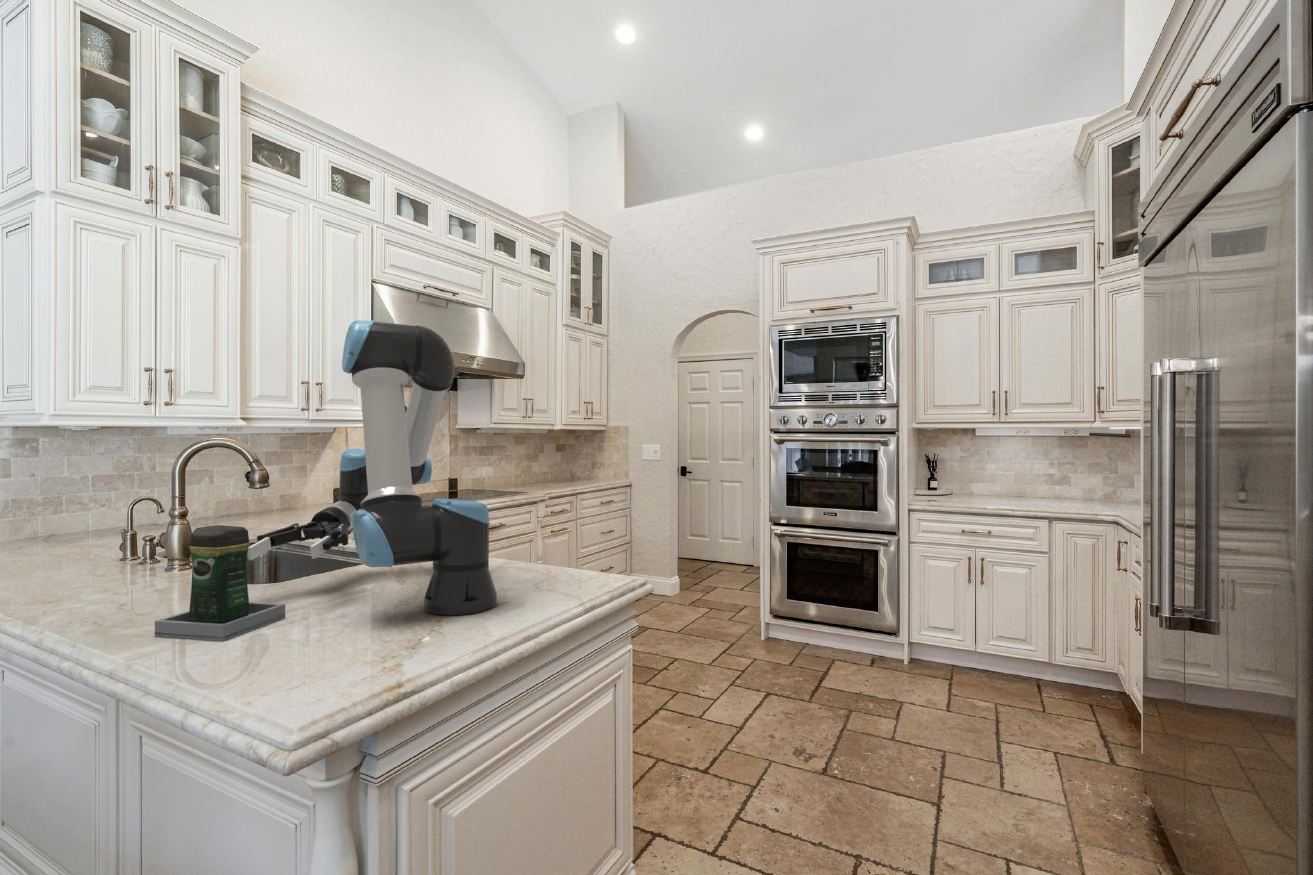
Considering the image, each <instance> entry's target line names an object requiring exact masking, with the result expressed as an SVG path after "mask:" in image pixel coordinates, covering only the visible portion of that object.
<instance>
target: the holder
mask: <svg viewBox="0 0 1313 875" xmlns="http://www.w3.org/2000/svg"><path fill="white" fill-rule="evenodd" d="M189 613H190V610H188V611H184V612H182V613H181V612H180V613H178V614H174V615H171V616H168V617H164V618H161V619H158V620H155V621H154V637H156V636H164V637H163V638H170V637H171V638H172V639H173V638H174V639H184V638H186V639H187V640H201V641H216V642H225V641H228V640H230V639H233V638H235V637H238V636H241V635H244V634H246V633H249V632H252V631H255V630H258V629H260V628H262V627H266V626H267V625H270V624H274V623H276V622H279V621H281V620H283V619H286V604H285V603H275V602H274V603H272V602H271V603H270V602H251V601H249V615H248V616H245V617H242V618H240V619H237V620H234V621H231V622H228V623H223V624H214V623H199V622H191V621H190V620H189ZM165 636H166V637H165Z"/></svg>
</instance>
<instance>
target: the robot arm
mask: <svg viewBox="0 0 1313 875" xmlns="http://www.w3.org/2000/svg"><path fill="white" fill-rule="evenodd" d="M342 350H343V351H342V360H341V361H342V362H341V368H342V371H343V372H344V373H347V374H351V382H352V383H353V385H355V386H356V387H358V388H359V389H360V399H361V400H360V401H361V414H362V425H363V426H362V428H363V429H362V430H363V440H364V441H363V442H364V443H363V444H364V448H349V449H348V448H347V449H346V450H344V451H343V452H342V453H341V454H340V455H341V457H340V465H339V489H338V500H337V501H336V502H333V503H332V504H330V505H329V506H327V507H325V508H324V509H322V510H320V511H318V512H316V513H315V514H314V515H313V516H312V519H311V521H309V522H308V523H306V524H301V525H299V523H292V524H291V525H288V526H286V527H282V528H280V529H277V530H273V531H270V532H266V533H263V534H260V535H258V536H256V541H257V542H256V543H254V544H252V545H249V548H248V552H247V560H248V561H253V560H255V559H257V558H258V557H260V556H263V555H264V554H265V553H267V552H270V551H271V550H272V548H274V547H277V546H282V545H286V544H288V543H292V542H296V541H299V542H304V541H309V540H316V539H320V540H318V541H317V542H315V543H314V544H312V545H310V546H309V548H310V549H309V550H310V556H311V559H312V560H313V559H317V558H318V557H320V556H321V555H323V554H324V553H326V552H327V551H329V550H331V549H332V548H334V547H338V546H339V545H340V544H341V545H342V546H347V545H348V544H349V535H350V534H351V533H352V534H353V535H352V536H353V540H354V544H355V548H356V549H355V550H356V552H357V554H358V556H359V559H360V561H361V562H362V563H363V564H364V565H365V566H366V567H368V568H382V567H383V568H385V567H386V568H392V567H394V566H401V565H413V564H421V563H428V562H429V563H430V562H432V573H431V577H430V580H429V582H428V586H427V589H426V590H425V591H426V592H425V594H424V595H425V596H424V598H423V610H424V611H425V612H426V613H428V614H432V615H438V616H461V615H472V614H477V613H481V612H485V611H488V610H491V609H493V608H495V607H496V605H498V604H497V603H498V602H497V601H498V599H497V598H498V594H497V590H496V587H495V584H494V582H493V578H492V574H491V571H490V569H489V567H490V566H489V562H490V560H489V557H490V556H489V555H490V545H489V544H490V525H491V524H490V520H489V517H490V515H489V508H488V506H487V505H486V504H485V503H482V502H480V501H474V500H465V499H457V498H456V499H455V498H452V499H451V498H439V497H438V498H437V497H436V498H434V499H433V501H432V502H431V503H432V505H428V506H427V505H426V506H424V505H423V502H422V497H421V495H420V494H418V493H417V492H416V491H415V490H414V489H413V488H414V487H413V486H415V485H424V484H427V483H429V482H430V480H431V479H432V471H433V467H432V466H433V465H432V461H431V459H430V458H429V457H428V453H429V449H430V445H431V442H432V439H433V435H434V431H435V427H436V425H437V423H438V422H437V421H438V418H439V414H440V411H441V407H442V404H443V400H444V398H445V397H444V396H445V393H446V391H448V390H450V389H451V387H452V386H453V381H454V377H455V371H456V369H455V361H454V356H453V353H452V351H451V349H450V346H449V345H448V344H447V342H446V341H445V339H443V337H442V336H441V335H440V334H438V333H437V332H436V331H434V330H433V329H431V328H428V327H427V326H422V325H410V324H402V323H391V322H381V321H375V320H374V319H373V320H362V319H361V320H354V321H352V322H351V323H350V324H349V326H348V329H347V332H346V336H345V338H344V345H343V349H342ZM410 379H411V382H412V383H413V384H412V388H411V391H410V395H409V400H408V404H407V408H406V405H405V404H406V403H405V394H404V387H405V386H406V385H407V384H408V383H409V382H410Z"/></svg>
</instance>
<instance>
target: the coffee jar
mask: <svg viewBox="0 0 1313 875" xmlns="http://www.w3.org/2000/svg"><path fill="white" fill-rule="evenodd" d="M249 547H250V537H249V530H248V529H247V528H245V527H244V526H237V525H236V526H235V525H218V524H217V525H207V526H200V527H196V528H195V529H194V530H193V531H192V532H191V535H190V540H189V552H190V557H191V565H192V566H191V567H192V569H191V572H192V573H191V585H190V586H191V588H190V590H191V591H190V601H189V611H190V613H189V620H190V621H191V622H199V623H214V624H223V623H228V622H231V621H234V620H237V619H240V618H242V617H245V616H248V615H249V602H250V599H249V589H248V570H247V567H248V566H247V560H248V553H247V552H248V548H249Z"/></svg>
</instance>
